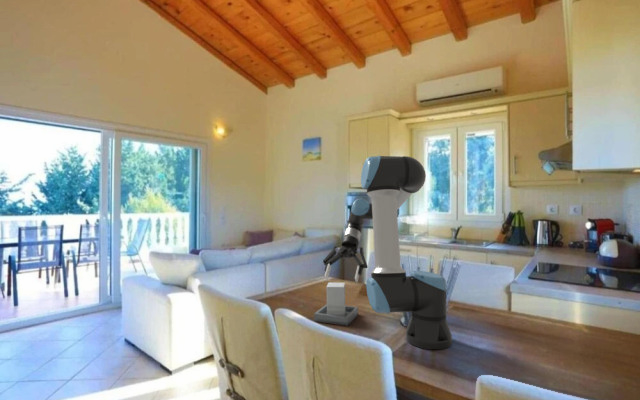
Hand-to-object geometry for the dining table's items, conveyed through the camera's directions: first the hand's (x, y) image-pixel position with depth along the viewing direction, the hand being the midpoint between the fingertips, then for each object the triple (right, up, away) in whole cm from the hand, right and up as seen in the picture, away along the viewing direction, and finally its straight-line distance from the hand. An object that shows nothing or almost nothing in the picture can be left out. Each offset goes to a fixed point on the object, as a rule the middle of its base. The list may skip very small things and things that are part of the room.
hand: (340, 279), depth 147 cm
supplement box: (-2, -14, -5) cm, 15 cm away
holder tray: (-2, -14, -6) cm, 16 cm away
